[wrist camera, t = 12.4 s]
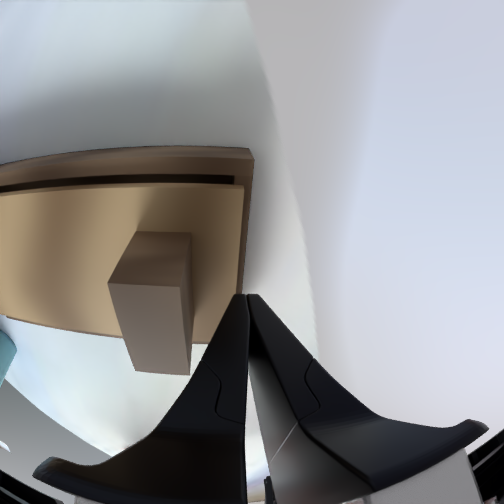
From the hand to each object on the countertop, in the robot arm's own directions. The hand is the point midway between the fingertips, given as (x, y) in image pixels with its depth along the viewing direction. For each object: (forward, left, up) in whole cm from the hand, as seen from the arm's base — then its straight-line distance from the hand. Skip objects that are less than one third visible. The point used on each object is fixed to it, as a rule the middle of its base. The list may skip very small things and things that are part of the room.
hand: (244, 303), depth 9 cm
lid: (+8, 0, -2) cm, 8 cm away
